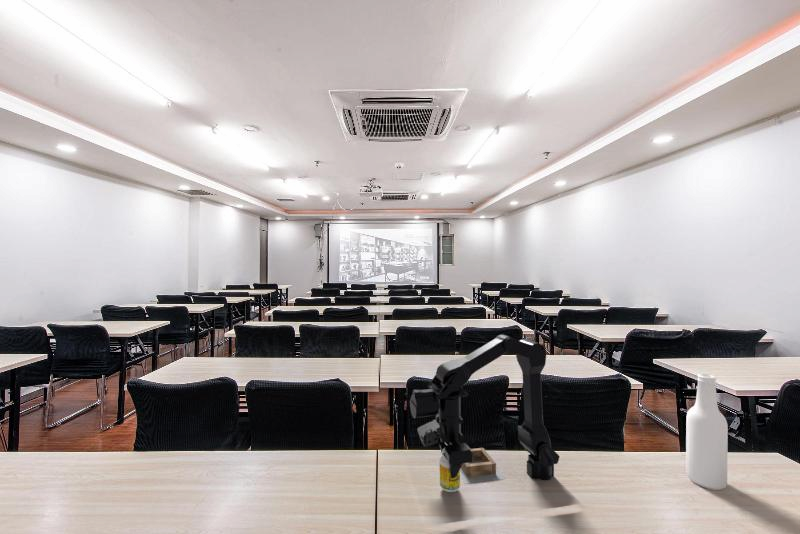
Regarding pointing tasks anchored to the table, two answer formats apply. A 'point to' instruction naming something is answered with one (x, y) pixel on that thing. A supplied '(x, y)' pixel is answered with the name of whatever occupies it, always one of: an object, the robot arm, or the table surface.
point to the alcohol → (706, 438)
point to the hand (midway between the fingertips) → (449, 471)
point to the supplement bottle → (448, 476)
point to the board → (481, 478)
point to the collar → (479, 464)
